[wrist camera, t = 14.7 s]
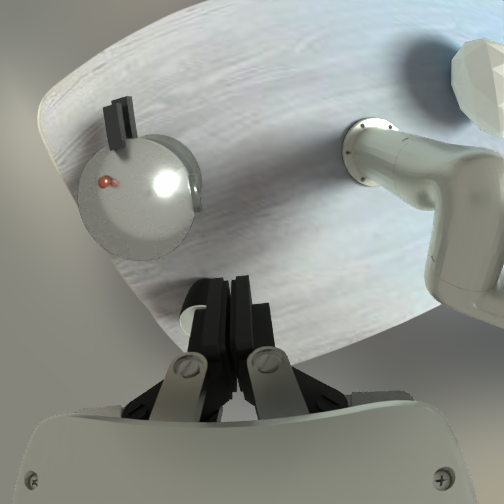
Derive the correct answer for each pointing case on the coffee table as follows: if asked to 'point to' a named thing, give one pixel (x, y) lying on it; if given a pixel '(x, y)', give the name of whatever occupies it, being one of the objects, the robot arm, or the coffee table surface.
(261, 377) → the robot arm
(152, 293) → the coffee table surface
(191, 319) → the mug
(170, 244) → the lid
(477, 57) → the geometric polyhedron
